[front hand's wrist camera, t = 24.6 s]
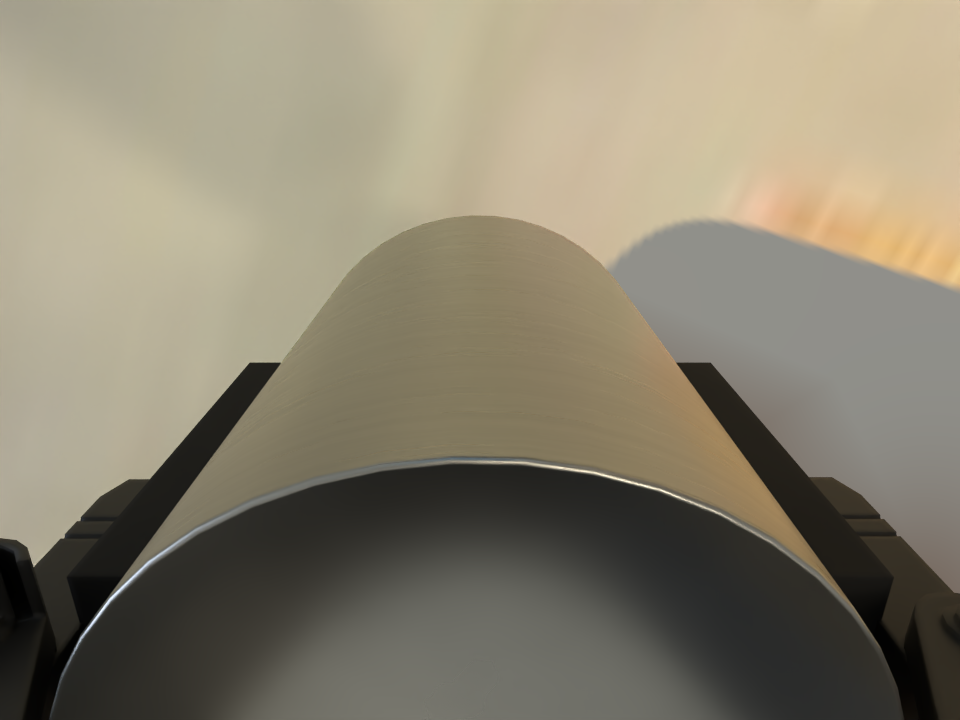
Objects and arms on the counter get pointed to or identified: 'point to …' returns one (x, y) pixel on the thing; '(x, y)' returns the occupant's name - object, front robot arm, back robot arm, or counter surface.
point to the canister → (477, 525)
